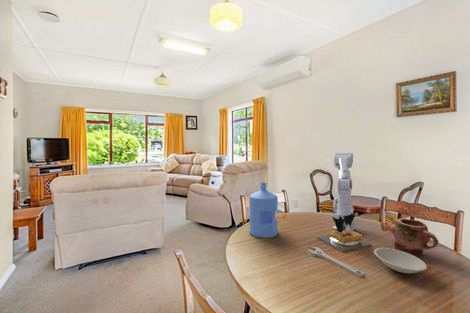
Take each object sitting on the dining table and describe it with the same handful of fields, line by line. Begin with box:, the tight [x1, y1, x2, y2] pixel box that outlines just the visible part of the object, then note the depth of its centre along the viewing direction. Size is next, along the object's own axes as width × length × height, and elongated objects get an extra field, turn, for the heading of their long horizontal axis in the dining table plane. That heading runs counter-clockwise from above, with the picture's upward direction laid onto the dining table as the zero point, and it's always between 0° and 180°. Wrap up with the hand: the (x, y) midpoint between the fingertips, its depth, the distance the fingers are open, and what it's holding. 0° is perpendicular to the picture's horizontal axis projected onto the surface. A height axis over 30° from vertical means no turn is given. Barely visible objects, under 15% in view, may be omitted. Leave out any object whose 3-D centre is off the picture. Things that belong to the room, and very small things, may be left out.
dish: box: [373, 247, 428, 274], centre depth 87 cm, size 18×14×5 cm
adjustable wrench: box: [307, 246, 364, 278], centre depth 94 cm, size 25×6×2 cm, turn 25°
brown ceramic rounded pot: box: [389, 218, 439, 257], centre depth 101 cm, size 20×12×14 cm, turn 20°
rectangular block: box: [338, 223, 350, 236], centre depth 113 cm, size 4×4×7 cm
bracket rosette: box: [317, 229, 372, 253], centre depth 113 cm, size 18×16×4 cm
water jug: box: [248, 181, 279, 239], centre depth 125 cm, size 16×16×28 cm
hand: (343, 230), depth 112 cm, fingers open, 7 cm apart
